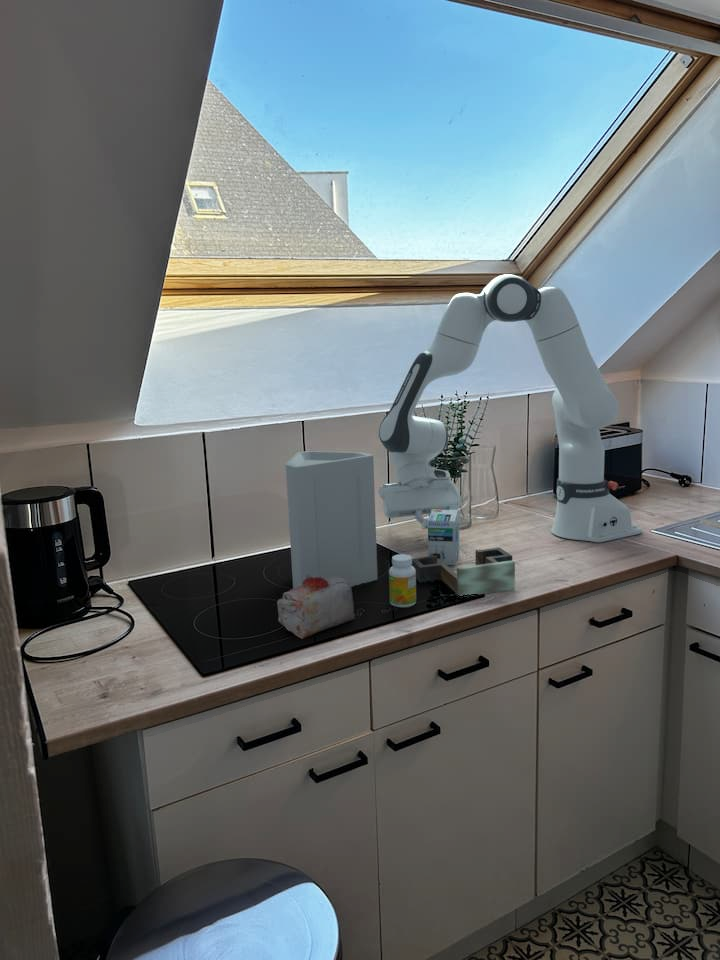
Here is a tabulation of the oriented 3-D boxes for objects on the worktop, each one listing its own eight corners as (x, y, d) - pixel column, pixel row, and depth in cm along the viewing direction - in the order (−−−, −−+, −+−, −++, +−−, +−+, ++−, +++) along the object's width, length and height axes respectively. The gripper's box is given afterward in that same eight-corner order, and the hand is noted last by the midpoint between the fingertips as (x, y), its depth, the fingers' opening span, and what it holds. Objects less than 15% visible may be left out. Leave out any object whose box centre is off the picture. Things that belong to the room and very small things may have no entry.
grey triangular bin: (344, 562, 173) (339, 446, 166) (379, 579, 160) (374, 455, 154) (272, 579, 163) (263, 457, 157) (303, 599, 150) (295, 467, 144)
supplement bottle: (384, 603, 146) (382, 558, 144) (401, 595, 150) (400, 551, 148) (404, 610, 143) (403, 563, 141) (421, 602, 147) (420, 556, 144)
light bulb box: (456, 566, 167) (456, 521, 165) (427, 565, 168) (426, 520, 166) (459, 551, 177) (459, 509, 175) (432, 550, 178) (431, 508, 176)
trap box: (498, 561, 169) (499, 536, 167) (534, 586, 152) (535, 559, 151) (410, 572, 163) (409, 547, 162) (438, 600, 147) (437, 572, 146)
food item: (299, 644, 130) (296, 592, 128) (275, 630, 136) (272, 581, 134) (358, 622, 138) (356, 573, 136) (333, 610, 144) (331, 563, 142)
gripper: (379, 478, 183) (392, 525, 176) (454, 471, 188) (470, 516, 181) (375, 491, 188) (387, 538, 181) (448, 484, 193) (463, 529, 186)
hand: (429, 527), depth 181 cm, fingers closed
